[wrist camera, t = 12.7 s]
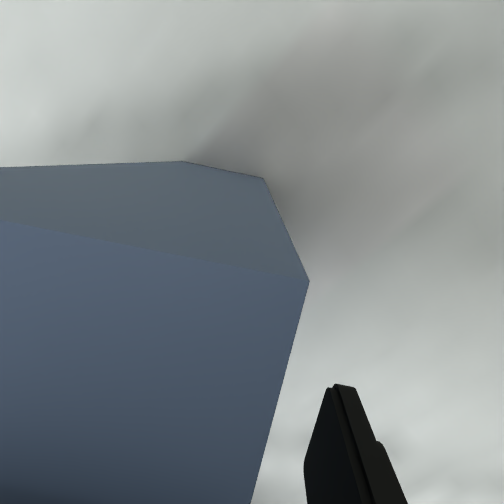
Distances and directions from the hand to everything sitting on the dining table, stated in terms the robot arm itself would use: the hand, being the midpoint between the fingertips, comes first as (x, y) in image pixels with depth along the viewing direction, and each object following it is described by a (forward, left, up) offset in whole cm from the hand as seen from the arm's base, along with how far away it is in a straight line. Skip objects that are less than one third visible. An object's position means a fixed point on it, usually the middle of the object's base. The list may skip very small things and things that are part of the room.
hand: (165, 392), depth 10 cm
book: (+1, 0, -13) cm, 13 cm away
